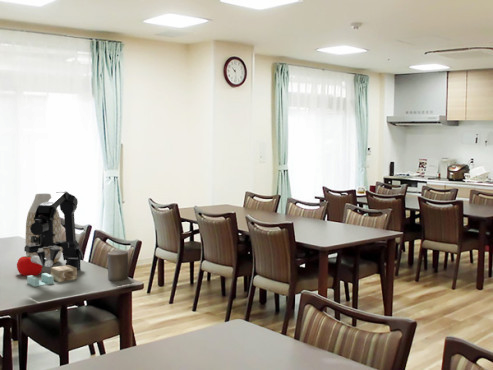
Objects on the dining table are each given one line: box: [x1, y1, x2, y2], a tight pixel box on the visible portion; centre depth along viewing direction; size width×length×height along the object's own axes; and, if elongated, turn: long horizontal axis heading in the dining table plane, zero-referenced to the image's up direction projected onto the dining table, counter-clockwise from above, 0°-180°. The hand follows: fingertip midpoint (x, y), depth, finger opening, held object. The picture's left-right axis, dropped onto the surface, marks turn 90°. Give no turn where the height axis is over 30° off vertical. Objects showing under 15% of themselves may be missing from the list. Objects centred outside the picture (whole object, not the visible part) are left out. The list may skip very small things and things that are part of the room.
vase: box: [25, 193, 63, 265], centre depth 298 cm, size 19×19×38 cm
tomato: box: [16, 255, 43, 277], centre depth 271 cm, size 11×13×10 cm
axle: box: [31, 256, 54, 268], centre depth 254 cm, size 16×3×3 cm, turn 45°
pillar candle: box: [107, 250, 129, 282], centre depth 265 cm, size 10×10×15 cm
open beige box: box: [50, 265, 78, 283], centre depth 264 cm, size 9×9×6 cm
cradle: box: [26, 272, 55, 288], centre depth 255 cm, size 9×8×4 cm
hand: (47, 265), depth 250 cm, fingers closed on axle, 3 cm apart
